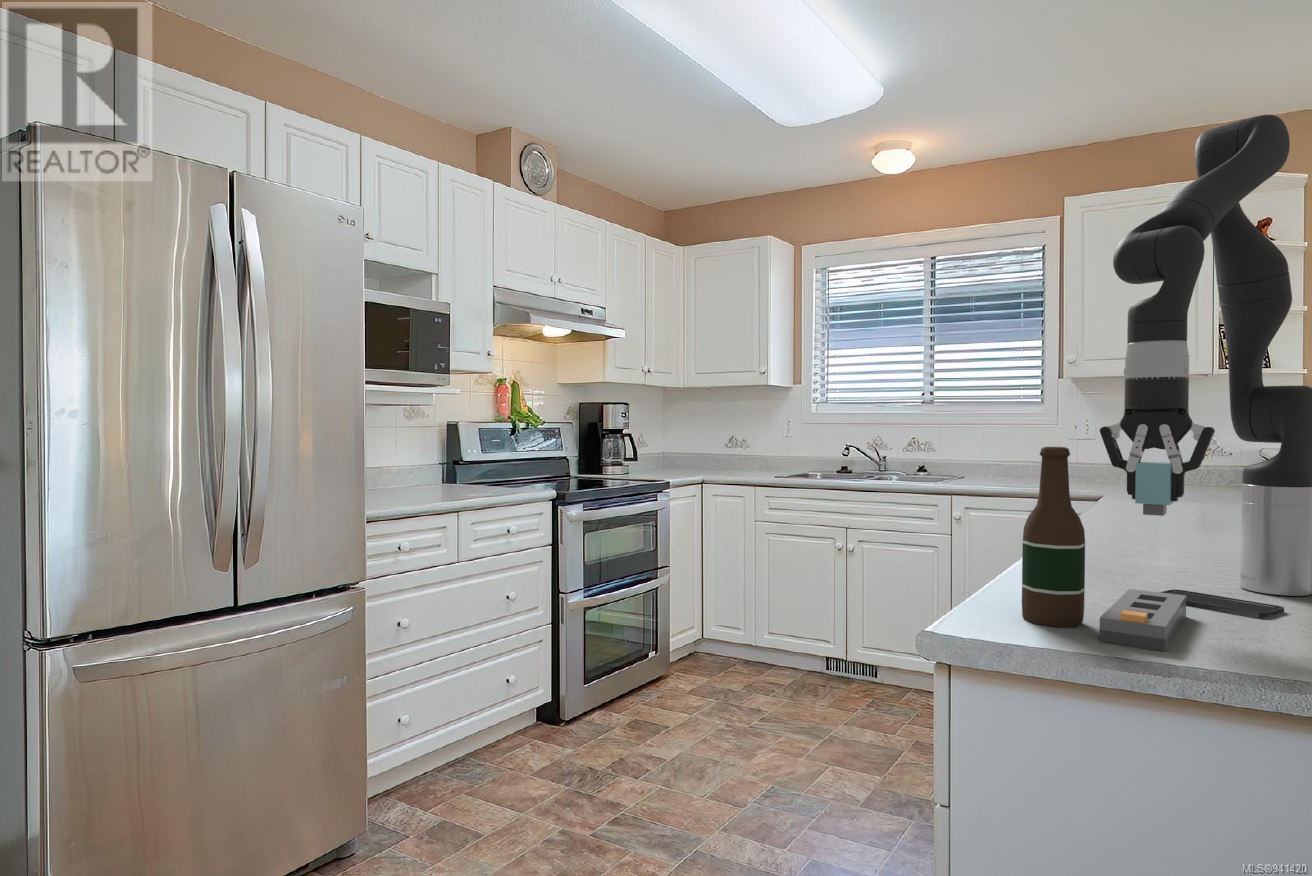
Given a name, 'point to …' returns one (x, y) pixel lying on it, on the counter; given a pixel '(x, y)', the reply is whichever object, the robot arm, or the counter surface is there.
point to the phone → (1229, 605)
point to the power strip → (1143, 619)
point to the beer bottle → (1053, 550)
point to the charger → (1153, 487)
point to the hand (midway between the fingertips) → (1154, 499)
